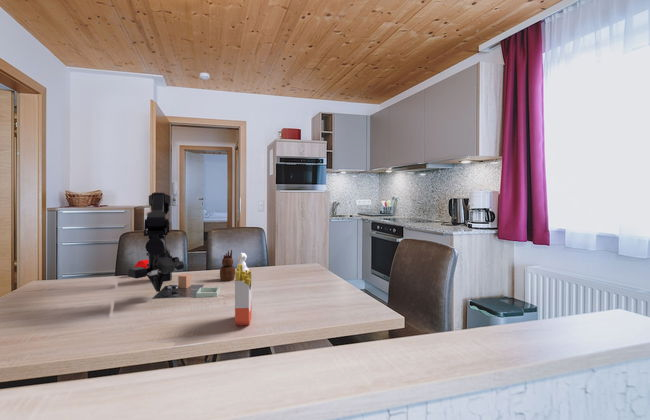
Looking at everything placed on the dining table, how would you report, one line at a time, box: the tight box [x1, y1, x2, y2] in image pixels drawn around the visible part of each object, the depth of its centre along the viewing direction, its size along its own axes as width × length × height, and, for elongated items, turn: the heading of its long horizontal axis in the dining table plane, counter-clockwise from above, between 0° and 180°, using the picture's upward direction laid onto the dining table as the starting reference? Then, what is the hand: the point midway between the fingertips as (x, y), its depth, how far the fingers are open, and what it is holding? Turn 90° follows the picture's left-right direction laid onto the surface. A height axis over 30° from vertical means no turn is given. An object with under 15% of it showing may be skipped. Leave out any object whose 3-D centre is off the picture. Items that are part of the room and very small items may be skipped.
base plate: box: [151, 284, 205, 300], centre depth 139 cm, size 16×18×1 cm
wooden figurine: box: [219, 249, 236, 282], centre depth 156 cm, size 7×6×15 cm
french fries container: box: [234, 263, 253, 326], centre depth 109 cm, size 5×11×18 cm, turn 7°
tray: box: [195, 286, 221, 298], centre depth 135 cm, size 8×8×2 cm
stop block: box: [177, 273, 192, 288], centre depth 144 cm, size 4×4×5 cm
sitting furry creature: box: [235, 252, 250, 278], centre depth 166 cm, size 10×9×12 cm
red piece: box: [134, 258, 149, 268], centre depth 165 cm, size 8×8×8 cm
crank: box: [167, 284, 178, 296], centre depth 137 cm, size 14×4×4 cm, turn 29°
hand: (157, 291), depth 127 cm, fingers closed
